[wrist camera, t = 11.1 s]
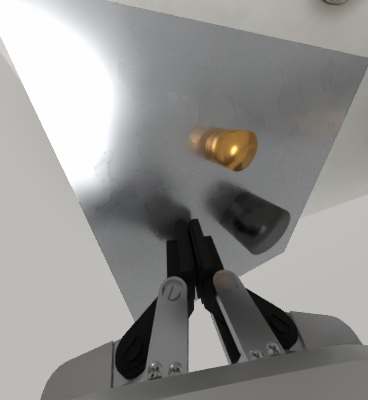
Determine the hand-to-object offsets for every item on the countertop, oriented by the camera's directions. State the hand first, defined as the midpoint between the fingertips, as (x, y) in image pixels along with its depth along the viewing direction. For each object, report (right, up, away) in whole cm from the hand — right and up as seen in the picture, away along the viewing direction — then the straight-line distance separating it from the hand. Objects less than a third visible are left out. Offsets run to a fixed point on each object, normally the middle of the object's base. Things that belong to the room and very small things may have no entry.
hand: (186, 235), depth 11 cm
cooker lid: (+4, +2, +3) cm, 6 cm away
